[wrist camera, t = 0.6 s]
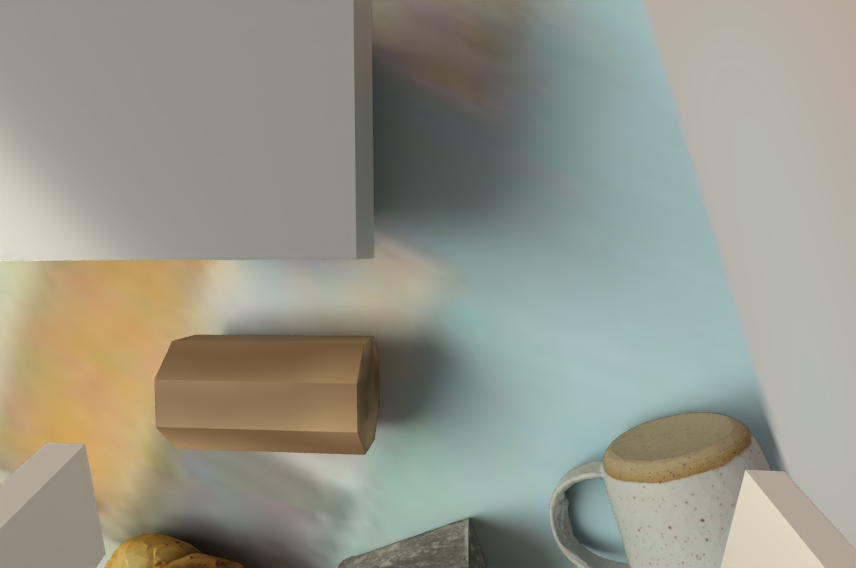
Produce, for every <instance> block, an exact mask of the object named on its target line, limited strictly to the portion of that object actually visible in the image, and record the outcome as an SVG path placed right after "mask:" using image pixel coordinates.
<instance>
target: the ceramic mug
mask: <svg viewBox="0 0 856 568" xmlns="http://www.w3.org/2000/svg"><path fill="white" fill-rule="evenodd" d="M745 470H763V471H771V469H770V467H769V464H768V462H767V460H766V457H765V455H764V453H763V451H762V450H761V448H760V446H759V444H758V443H757V441H756V439H755V438H754V436H753V435H752V433H751V432H750V430H749V429H748V428H747V427H746V426H745V425H744V424H743V423H741V422H740V421H738V420H736V419H734V418H732V417H729V416H726V415H723V414H719V413H709V412H702V413H685V414H678V415H674V416H669V417H664V418H659V419H657V420H654V421H650V422H647V423H644V424H641V425H639V426H637V427H634V428H632V429H630V430H628V431H626V432H625V433H623V434H621V435H620V436H619V437H617V438H616V439H615V440H614V441H612V443H611V444H610V446H609V447H608V449H607V450H606V452H605V454H604V456H603V461H601V462H590V463H586V464H584V465H581V466H579V467H577V468H574V469H572V470H571V471H570V472H568V473H567V474H566V475H565V476H564V477H563V478H562V479H561V481H560V482H559V483H558V485H557V487H556V489H555V490H554V492H553V494H552V497H551V501H550V504H549V519H550V524H551V528H552V532H553V535H554V538H555V540H556V542H557V544H558V546H559V548H560V549H561V551H562V552H563V553H564V555H565V556H566V557H567V558H568V559H569V560H570V561H571V562H572V563H574V564H575V565H576V566H577V567H579V568H720V567H721V563H722V559H723V555H724V552H725V548H726V544H727V540H728V536H729V532H730V528H731V524H732V520H733V516H734V512H735V508H736V504H737V500H738V497H739V493H740V489H741V485H742V481H743V477H744V473H745ZM597 477H599V478H603V479H604V480H605V487H606V490H607V494H608V497H609V501H610V504H611V507H612V510H613V513H614V516H615V518H616V521H617V524H618V527H619V531H620V534H621V537H622V540H623V544H624V548H625V552H626V556H627V559H628V562H629V564H626V563H620V562H615V561H611V560H608V559H605V558H602V557H599V556H597V555H595V554H594V553H592V552H591V551H589V550H587V549H586V548H585V547H584V546H582V545H581V544H580V543H579V542H578V540H577V538H576V537H575V535H574V534H573V530H572V526H571V522H570V518H569V514H568V505H569V500H568V499H567V497H566V495H565V491H566V490H567V489H568V488H569V487H571V486H572V485H573V484H574V483H577V482H580V481H583V480H586V479H594V478H597Z"/></svg>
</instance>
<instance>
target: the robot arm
mask: <svg viewBox="0 0 856 568" xmlns="http://www.w3.org/2000/svg"><path fill="white" fill-rule="evenodd" d="M105 554H106V553H105V547H104V542H103V537H102V531H101V526H100V521H99V515H98V510H97V505H96V500H95V494H94V489H93V484H92V478H91V473H90V468H89V462H88V457H87V452H86V447H85V444H70V443H46V444H45V445H44V446H42V447H41V448H40V449H39V450H38V451H37V452H36V453H35V454H33V455H32V456H31V457H30V458H29V459H28V460H27V461H26V462H25V463H23V464H22V465H21V466H20V467H19V468H18V469H17V470H16V471H15V472H13V473H12V474H11V475H10V476H9V477H8V478H7V479H6V480H4V481H3V482H2V483H1V484H0V568H96V567H97V565H98V564H99V562H100V561H101V560H102V558H103V557H104V555H105ZM720 568H856V550H855V549H854V548H853V546H852V545H851V544H850V543H849V542H848V541H847V540H846V539H845V538H844V537H843V535H842V534H841V533H840V532H839V531H838V530H837V529H836V528H835V527H834V526H833V524H832V523H831V522H830V521H829V520H828V519H827V518H826V517H825V516H824V515H823V513H821V511H820V510H819V509H818V508H817V507H816V506H815V505H814V504H813V503H812V502H811V500H810V499H809V498H808V497H807V496H806V495H805V494H804V493H803V492H802V490H800V488H799V487H798V486H797V485H796V484H795V483H794V482H793V481H792V479H791V478H790V477H789V476H788V475H787V474H786V473H785V472H784V471H763V470H745V473H744V477H743V481H742V485H741V489H740V493H739V497H738V500H737V504H736V508H735V512H734V516H733V520H732V524H731V528H730V532H729V536H728V540H727V544H726V548H725V552H724V555H723V559H722V563H721V567H720Z"/></svg>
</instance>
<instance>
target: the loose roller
mask: <svg viewBox="0 0 856 568" xmlns="http://www.w3.org/2000/svg"><path fill="white" fill-rule="evenodd" d="M379 404H380V398H379V357H378V353H377V349H376V345H375V341H374V337H369V336H270V335H193V336H189V337H185V338H182V339H178V340H174V341H172V343H171V345H170V347H169V349H168V352H167V354H166V356H165V358H164V360H163V362H162V365H161V367H160V369H159V371H158V373H157V376H156V378H155V412H156V427H157V429H158V430H159V431H160V432H161V433H162V434H163V435H164V436H165V438H166V439H167V440H168V441H169V442H170V443H171V444H172V445H173V446H174V448H175V449H205V450H235V451H266V452H297V453H328V454H358V455H365V454H366V452H367V451H368V449H369V448H370V446H371V444H372V443H373V441H374V439H375V432H376V425H377V418H378V411H379Z"/></svg>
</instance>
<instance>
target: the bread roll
mask: <svg viewBox="0 0 856 568" xmlns="http://www.w3.org/2000/svg"><path fill="white" fill-rule="evenodd" d="M105 568H244V567H243V566H242V565H241V564H239V563H236V562H233V561H230V560H227V559H223V558H219V557H214V556H209V555H206V554H203V553H202V552H201V551H199V550H198V549H197V548H195V547H194V546H193V545H191V544H190V543H186V542H184V541H181V540H179V539H176V538H173V537H170V536H167V535H163V534H142V535H140V536H137V537H135V538H131V539H129V540H127V541H125V542H124V543H122V544H121V545H120V546H119V547H118V548H117V550H116V551H115V552H114V553H113V555H112V557H111V558H110V560H109V561H108V563H107V564H106V566H105Z"/></svg>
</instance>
